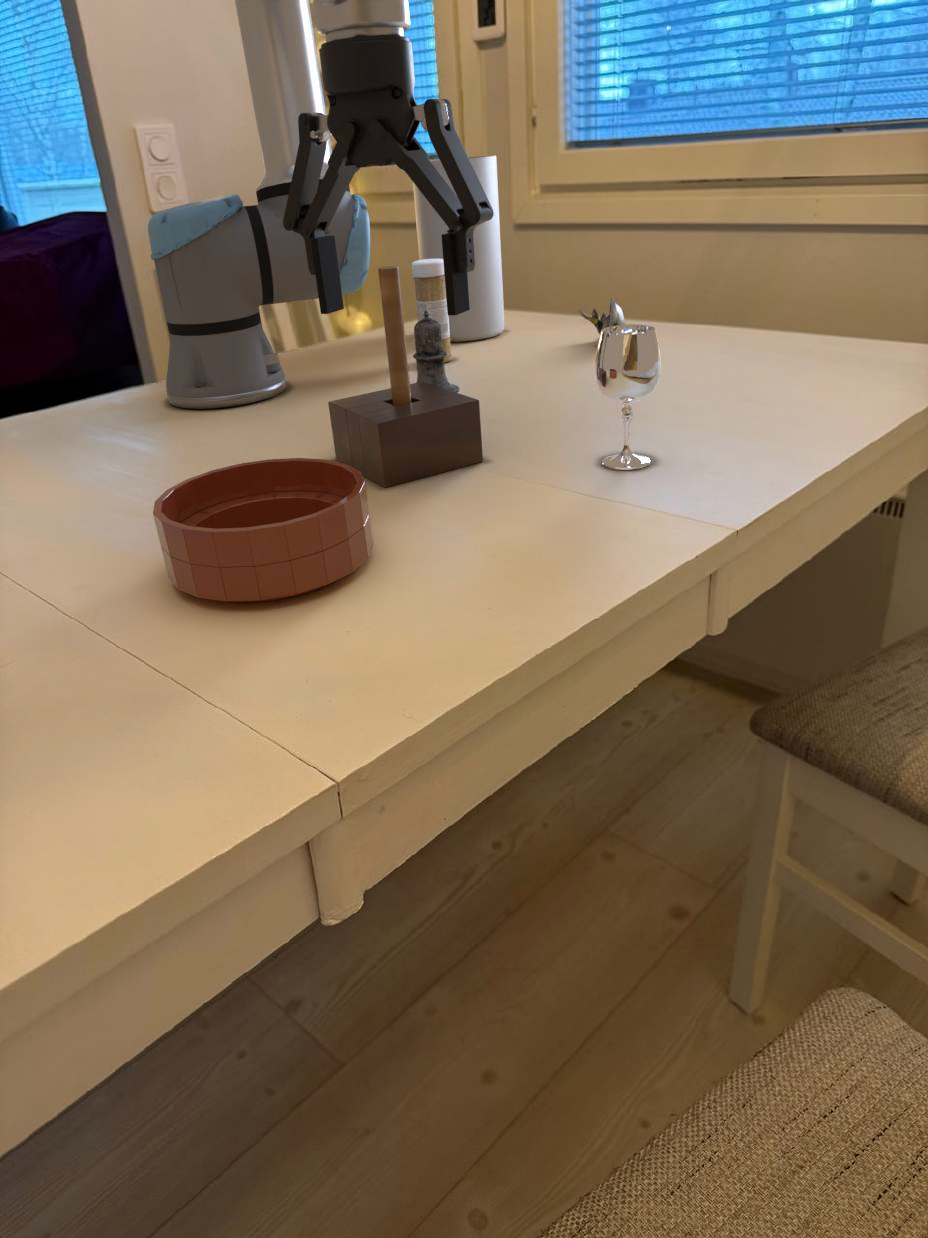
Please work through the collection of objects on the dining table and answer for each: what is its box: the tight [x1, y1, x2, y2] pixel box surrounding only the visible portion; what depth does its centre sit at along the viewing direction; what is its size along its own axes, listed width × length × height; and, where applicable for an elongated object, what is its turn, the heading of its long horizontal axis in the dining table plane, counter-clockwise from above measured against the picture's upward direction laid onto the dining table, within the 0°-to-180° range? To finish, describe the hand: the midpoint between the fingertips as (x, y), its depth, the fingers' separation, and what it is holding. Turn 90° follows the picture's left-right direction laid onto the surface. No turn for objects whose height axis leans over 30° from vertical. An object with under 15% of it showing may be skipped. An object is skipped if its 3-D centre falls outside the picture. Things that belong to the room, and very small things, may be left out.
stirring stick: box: [377, 265, 412, 406], centre depth 86 cm, size 2×2×18 cm
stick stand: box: [327, 381, 484, 488], centre depth 89 cm, size 11×11×6 cm
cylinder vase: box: [412, 154, 505, 343], centre depth 139 cm, size 12×12×25 cm
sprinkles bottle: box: [411, 259, 453, 364], centre depth 126 cm, size 5×5×14 cm
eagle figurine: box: [578, 298, 627, 336], centre depth 130 cm, size 8×7×9 cm
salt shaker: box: [412, 310, 460, 393], centre depth 99 cm, size 6×6×12 cm
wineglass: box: [594, 323, 662, 471], centre depth 82 cm, size 6×6×12 cm
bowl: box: [152, 457, 374, 603], centre depth 68 cm, size 15×15×6 cm
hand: (393, 312), depth 83 cm, fingers open, 13 cm apart
